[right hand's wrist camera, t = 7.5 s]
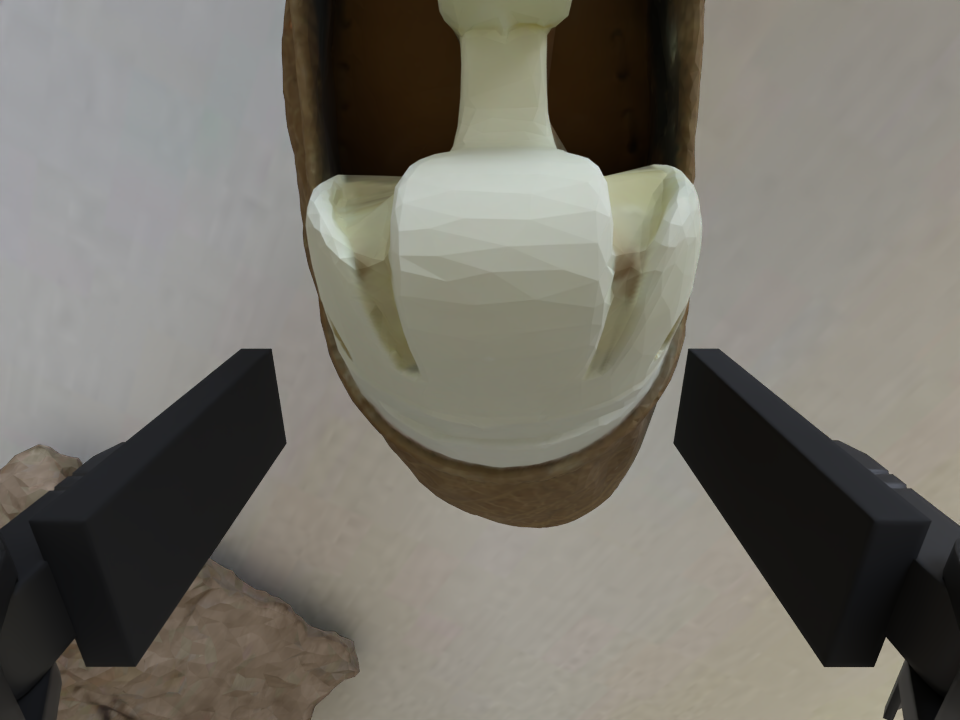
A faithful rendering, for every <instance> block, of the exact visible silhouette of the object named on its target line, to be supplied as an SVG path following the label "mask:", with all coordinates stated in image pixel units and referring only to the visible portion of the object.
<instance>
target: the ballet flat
mask: <svg viewBox="0 0 960 720" xmlns="http://www.w3.org/2000/svg"><path fill="white" fill-rule="evenodd" d="M704 3H705V0H286V5H285V14H284V28H283V36H282V66H283V94H284V99H285V110H286V120H287V128H288V132H289V136H290V141H291V145H292V148H293V152H294V155H295V165H296V172H297V182H298V189H299V194H300V208H301V215H302V221H303V240H304V247H305V252H306V257H307V262H308V266H309V269H310V272H311V275H312V278H313V281H314V284H315V287H316V290H317V293H318V296H319V307H320V317H321V323H322V327H323V331H324V335H325V338H326V342H327V346H328V351H329V355H330V357H331V360H332V362H333V364H334V367H335V369H336V371H337V373H338V376H339V378H340V379H341V381H342V383H343V385H344V387H345V388H346V390H347V392H348V394H349V396H350V397H351V399H352V401H353V402H354V404H355V405H356V406H357V407H358V409H359V410H360V411H361V412H362V413H363V415H364V416H365V417H366V418H367V419H368V420H369V422H370V423H371V424H372V425H373V426H374V427H375V428H376V430H377V431H378V432H379V433H380V434H382V436H383V437H384V439H385V440H386V442H387V443H388V445H389V446H390V447H391V449H392V450H393V451H394V452H395V453H396V454H397V455H398V456H399V457H400V458H401V460H402V461H403V462H404V463H405V464H406V465H407V466H408V467H409V469H410V470H411V471H412V472H413V474H414V475H415V476H416V478H417V479H418V480H419V482H421V483H422V484H423V485H424V486H425V487H427V488H428V489H429V490H430V491H431V492H432V493H434V494H435V495H436V496H437V497H439V498H441V499H442V500H444V501H445V502H447V503H449V504H451V505H453V506H455V507H457V508H459V509H461V510H463V511H465V512H468V513H470V514H473V515H478V516H481V517H484V518H486V519H489V520H492V521H495V522H498V523H502V524H507V525H511V526H517V527H533V528H542V527H552V526H558V525H562V524H566V523H569V522H571V521H574V520H576V519H578V518H580V517H582V516H584V515H585V514H587V513H589V512H590V511H592V510H593V509H595V508H596V507H598V506H599V505H600V504H602V503H603V502H604V501H605V500H606V499H608V498H609V497H610V496H611V495H612V493H613V492H614V490H615V489H616V488H617V487H618V485H619V483H620V482H621V481H622V479H623V478H624V476H625V475H626V473H627V472H628V470H629V468H630V466H631V465H632V463H633V461H634V459H635V457H636V455H637V453H638V451H639V449H640V447H641V444H642V442H643V439H644V436H645V434H646V431H647V428H648V426H649V423H650V420H651V417H652V415H653V412H654V409H655V407H656V404H657V401H658V400H659V398H660V397H661V395H662V394H663V392H664V391H665V389H666V387H667V385H668V384H669V382H670V380H671V378H672V375H673V373H674V371H675V368H676V366H677V362H678V359H679V356H680V352H681V349H682V346H683V342H684V339H685V324H686V320H687V315H688V309H689V299H690V295H691V293H692V289H693V284H694V279H695V274H696V269H697V264H698V260H699V255H700V250H701V240H702V221H701V212H700V204H699V198H698V195H697V193H696V190H695V188H694V185H693V184H694V179H695V133H696V126H697V118H698V106H699V92H700V78H701V67H702V52H703V43H704V10H705V8H704Z"/></svg>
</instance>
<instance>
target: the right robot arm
mask: <svg viewBox="0 0 960 720" xmlns="http://www.w3.org/2000/svg"><path fill="white" fill-rule="evenodd" d="M285 445H286V437H285V431H284V424H283V418H282V412H281V405H280V399H279V393H278V386H277V380H276V374H275V367H274V361H273V355H272V349H240V350H239V351H238V352H237V353H235V354H234V355H233V356H232V357H231V358H229V359H228V360H227V361H226V362H224V363H223V364H222V365H221V366H219V367H218V368H217V369H216V370H214V371H213V372H212V373H211V374H209V375H208V376H207V377H206V378H204V379H203V380H202V381H201V382H200V383H198V384H197V385H196V386H195V387H193V388H192V389H191V390H190V391H188V392H187V393H186V394H185V395H183V396H182V397H181V398H180V399H178V400H177V401H176V402H175V403H173V404H172V405H171V406H170V407H169V408H167V409H166V410H165V411H164V412H162V413H161V414H160V415H159V416H157V417H156V418H155V419H154V420H152V421H151V422H150V423H149V424H147V425H146V426H145V427H144V428H142V429H141V430H140V431H139V432H138V433H136V434H135V435H134V436H133V437H131V438H130V439H129V440H128V441H126V442H122V443H120V444H118V445H116V446H114V447H112V448H110V449H107V450H105V451H103V452H101V453H99V454H97V455H95V456H93V457H92V458H91V459H90V460H88V461H87V462H86V463H84V464H83V465H82V466H81V467H79V468H78V469H77V470H75V471H74V472H73V473H72V476H68V477H66V478H65V479H64V480H62V481H61V482H60V483H59V484H57V485H56V486H55V487H54V490H53V491H48V492H47V493H46V494H44V495H43V496H42V497H41V498H39V499H38V500H37V501H35V502H34V503H33V504H32V505H30V506H29V507H28V508H26V509H25V510H24V511H23V512H21V513H20V514H19V515H17V516H16V517H15V518H14V519H12V520H11V521H10V522H8V523H7V524H6V525H5V526H3V527H2V528H1V529H0V720H57V713H58V706H59V700H60V693H61V686H62V680H61V674H60V671H59V668H58V666H57V663H56V660H57V659H58V658H59V657H60V656H61V654H62V653H63V652H64V651H65V650H66V649H67V647H68V646H69V645H70V644H71V643H72V641H73V640H74V639H75V640H76V643H77V646H78V648H79V651H80V653H81V656H82V658H83V661H84V663H85V666H86V667H136V666H137V664H138V663H139V661H140V660H141V658H142V657H143V656H144V654H145V653H146V651H147V650H148V648H149V647H150V645H151V644H152V642H153V641H154V639H155V638H156V636H157V635H158V633H159V632H160V630H161V629H162V627H163V626H164V624H165V623H166V621H167V620H168V618H169V617H170V615H171V614H172V612H173V611H174V610H175V608H176V607H177V605H178V604H179V602H180V601H181V599H182V598H183V596H184V595H185V593H186V592H187V590H188V589H189V587H190V586H191V584H192V583H193V581H194V580H195V578H196V577H197V575H198V574H199V572H200V571H201V569H202V568H203V566H204V565H205V564H206V562H207V561H208V559H209V558H210V556H211V555H212V553H213V552H214V550H215V549H216V547H217V546H218V544H219V543H220V541H221V540H222V538H223V537H224V535H225V534H226V532H227V531H228V529H229V528H230V526H231V525H232V523H233V522H234V520H235V519H236V518H237V516H238V515H239V513H240V512H241V510H242V509H243V507H244V506H245V504H246V503H247V501H248V500H249V498H250V497H251V495H252V494H253V492H254V491H255V489H256V488H257V486H258V485H259V483H260V482H261V480H262V479H263V477H264V476H265V474H266V473H267V472H268V470H269V469H270V467H271V466H272V464H273V463H274V461H275V460H276V458H277V457H278V455H279V454H280V452H281V451H282V449H283V448H284V446H285ZM674 445H675V446H676V448H677V449H678V451H679V452H680V454H681V455H682V457H683V458H684V460H685V461H686V463H687V464H688V466H689V467H690V469H691V470H692V472H693V473H694V475H695V476H696V477H697V479H698V480H699V482H700V483H701V485H702V486H703V488H704V489H705V491H706V492H707V494H708V495H709V497H710V498H711V500H712V501H713V503H714V504H715V506H716V507H717V509H718V510H719V512H720V513H721V515H722V516H723V518H724V519H725V521H726V522H727V523H728V525H729V526H730V528H731V529H732V531H733V532H734V534H735V535H736V537H737V538H738V540H739V541H740V543H741V544H742V546H743V547H744V549H745V550H746V552H747V553H748V555H749V556H750V558H751V559H752V561H753V562H754V564H755V565H756V567H757V568H758V569H759V571H760V572H761V574H762V575H763V577H764V578H765V580H766V581H767V583H768V584H769V586H770V587H771V589H772V590H773V592H774V593H775V595H776V596H777V598H778V599H779V601H780V602H781V604H782V605H783V607H784V608H785V610H786V611H787V612H788V614H789V615H790V617H791V618H792V620H793V621H794V623H795V624H796V626H797V627H798V629H799V630H800V632H801V633H802V635H803V636H804V638H805V639H806V641H807V642H808V644H809V645H810V647H811V648H812V650H813V651H814V653H815V654H816V656H817V657H818V658H819V660H820V661H821V663H822V664H823V666H824V667H874V666H875V663H876V661H877V658H878V656H879V653H880V651H881V648H882V646H883V643H884V640H885V638H886V637H887V638H888V640H889V641H890V642H891V643H892V644H893V646H894V647H895V648H896V649H897V650H898V651H899V653H900V654H901V655H902V656H903V657H904V659H905V661H904V663H903V666H902V668H901V671H900V673H899V675H898V678H897V680H896V682H895V685H894V687H893V689H892V692H891V694H890V697H889V699H888V701H887V704H886V706H885V711H884V716H883V718H884V719H887V720H893V719H894V717H895V715H896V712H897V710H898V709H901V708H902V711H903V718H904V720H960V526H959V525H958V524H957V523H955V522H954V521H953V520H951V519H950V518H949V517H948V516H946V515H945V514H944V513H942V512H941V511H940V510H938V509H937V508H936V507H935V506H933V505H932V504H931V503H929V502H928V501H927V500H925V499H924V498H923V497H922V496H920V495H919V494H918V493H916V492H915V491H914V490H912V489H911V488H907V487H906V484H905V483H903V482H902V481H901V480H899V479H898V478H897V477H896V476H894V475H893V474H889V473H888V470H887V469H885V468H884V467H883V466H881V465H880V464H879V463H877V462H876V461H875V460H874V459H872V458H871V457H870V456H868V455H867V454H865V453H863V452H861V451H859V450H857V449H855V448H853V447H851V446H849V445H847V444H845V443H843V442H841V441H838V440H831V439H830V438H829V437H827V436H826V435H825V434H824V433H822V432H821V431H820V430H819V429H817V428H816V427H815V426H814V425H813V424H811V423H810V422H809V421H808V420H806V419H805V418H804V417H803V416H801V415H800V414H799V413H798V412H796V411H795V410H794V409H793V408H791V407H790V406H789V405H788V404H787V403H785V402H784V401H783V400H782V399H780V398H779V397H778V396H777V395H775V394H774V393H773V392H772V391H770V390H769V389H768V388H767V387H765V386H764V385H763V384H762V383H760V382H759V381H758V380H757V379H756V378H754V377H753V376H752V375H751V374H749V373H748V372H747V371H746V370H744V369H743V368H742V367H741V366H739V365H738V364H737V363H736V362H734V361H733V360H732V359H731V358H729V357H728V356H727V355H726V354H725V353H723V352H722V351H721V350H720V349H688V355H687V361H686V367H685V374H684V380H683V386H682V393H681V399H680V405H679V412H678V418H677V424H676V430H675V437H674Z"/></svg>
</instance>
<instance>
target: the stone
mask: <svg viewBox="0 0 960 720" xmlns="http://www.w3.org/2000/svg"><path fill="white" fill-rule="evenodd" d="M81 466H82V463H81V461H80V460H79V458H74V457H69V456H65V455H61V454H59V453H58V452H56V451H55V450H54V449H52V448H51V447H48V446H44V445H40V444H39V445H36V446H34V447H32V448H30V449H28V450H26V451H24V452H22V453H19V454H17V455H15V456H14V457H13V458H12V459H11V460H10V461H9V463H8V464H7V465H6V466H4V467H3V468H2V469H1V470H0V529H1V528H2V527H3V526H5V525H6V524H7V523H8V522H10V521H11V520H12V519H14V518H15V517H16V516H17V515H19V514H20V513H21V512H23V511H24V510H25V509H26V508H28V507H29V506H30V505H32V504H33V503H34V502H35V501H37V500H38V499H39V498H41V497H42V496H43V495H44V494H46V493H47V492H48V491H53V490H54V487H55V486H56V485H57V484H59V483H60V482H61V481H62V480H64V479H65V478H66V477H68V476H72V473H73V472H74V471H75V470H77V469H78V468H79V467H81ZM56 663H57V666H58V668H59V671H60V674H61V680H62V686H61V693H60V700H59V706H58V713H57V720H311V717H312V713H313V710H314V707H315V706H316V705H317V704H318V703H319V702H320V701H321V700H322V699H323V698H325V697H326V696H327V695H328V694H329V693H330V692H331V691H332V689H333V688H335V687H336V686H337V685H338V684H339V683H341V682H342V681H343V680H344V679H348V678H352V677H355V676H356V675H357V674H358V673H359V672H360V670H359V664H358V658H357V655H356V652H355V648H354V642H353V641H351V640H350V639H348V638H345V637H342V636H340V635H338V634H337V633H336V632H335V631H323V630H320V629H317V628H315V627H312V626H310V625H309V624H307V623H306V622H305V621H304V619H303V618H302V617H300V616H299V615H297V614H295V612H294V611H293V609H292V607H291V605H289V604H287V603H286V602H284V601H283V600H281V599H280V598H278V597H274V596H271V595H270V594H269V593H267V592H266V591H261V590H256V589H254V588H253V587H251V586H250V585H248V584H247V583H245V582H244V581H242V580H241V579H239V578H238V577H237V576H236V574H235V573H234V571H232V570H229V569H226V568H224V567H223V566H221V565H219V564H218V563H216V562H215V561H213V560H212V559H210V558H209V559H208V561H207V562H206V564H205V565H204V566H203V568H202V569H201V571H200V572H199V574H198V575H197V577H196V578H195V580H194V581H193V583H192V584H191V586H190V587H189V589H188V590H187V592H186V593H185V595H184V596H183V598H182V599H181V601H180V602H179V604H178V605H177V607H176V608H175V610H174V611H173V612H172V614H171V615H170V617H169V618H168V620H167V621H166V623H165V624H164V626H163V627H162V629H161V630H160V632H159V633H158V635H157V636H156V638H155V639H154V641H153V642H152V644H151V645H150V647H149V648H148V650H147V651H146V653H145V654H144V656H143V657H142V658H141V660H140V661H139V663H138V664H137V666H136V667H86V666H85V663H84V661H83V658H82V656H81V653H80V651H79V648H78V646H77V643H76V640H75V639H74V640H73V641H72V643H71V644H70V645H69V646H68V647H67V649H66V650H65V651H64V652H63V653H62V654H61V656H60V657H59V658H58V659H57V660H56Z"/></svg>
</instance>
